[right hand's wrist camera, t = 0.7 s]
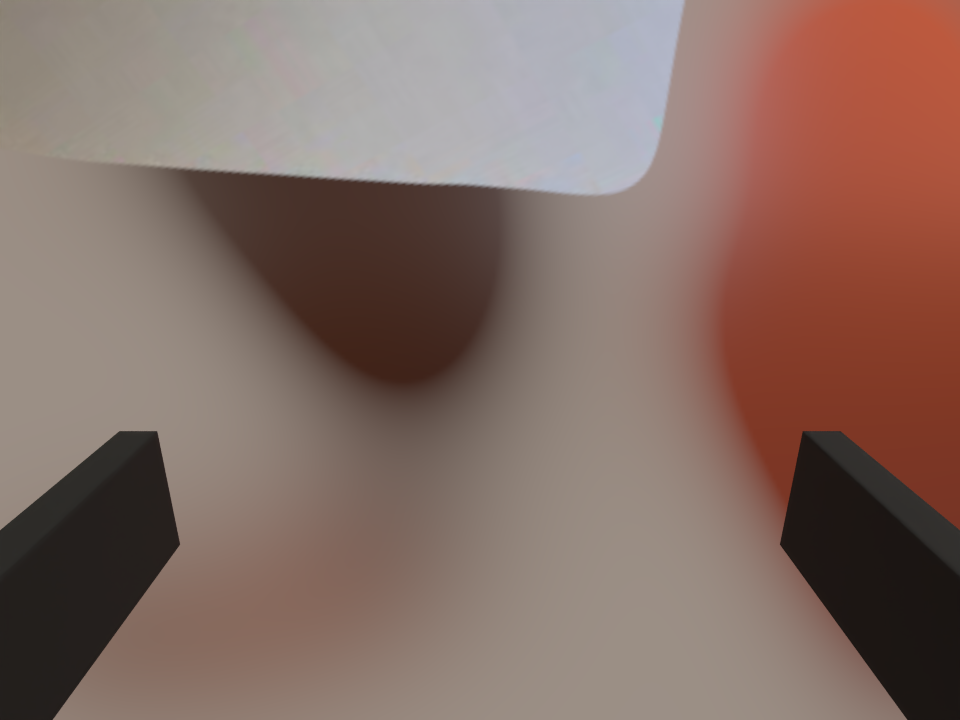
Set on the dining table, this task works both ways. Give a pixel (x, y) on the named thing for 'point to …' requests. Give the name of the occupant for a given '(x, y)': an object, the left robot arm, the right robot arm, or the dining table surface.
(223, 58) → the dining table surface
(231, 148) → the dining table surface
